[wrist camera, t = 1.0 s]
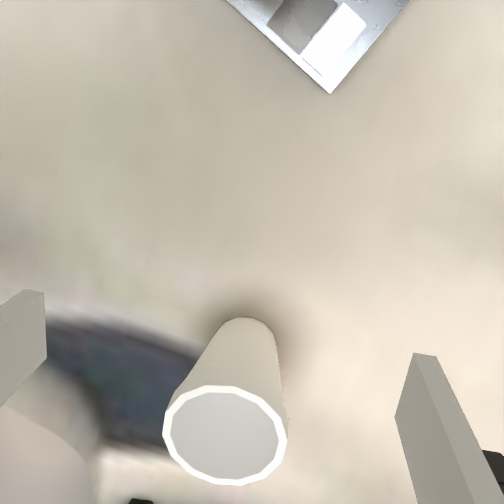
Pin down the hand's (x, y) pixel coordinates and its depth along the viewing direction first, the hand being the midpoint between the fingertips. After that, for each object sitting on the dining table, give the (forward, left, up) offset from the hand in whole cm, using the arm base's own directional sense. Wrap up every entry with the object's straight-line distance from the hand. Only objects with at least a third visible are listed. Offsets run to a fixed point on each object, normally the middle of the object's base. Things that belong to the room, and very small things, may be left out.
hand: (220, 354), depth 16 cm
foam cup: (+8, -14, -26) cm, 31 cm away
